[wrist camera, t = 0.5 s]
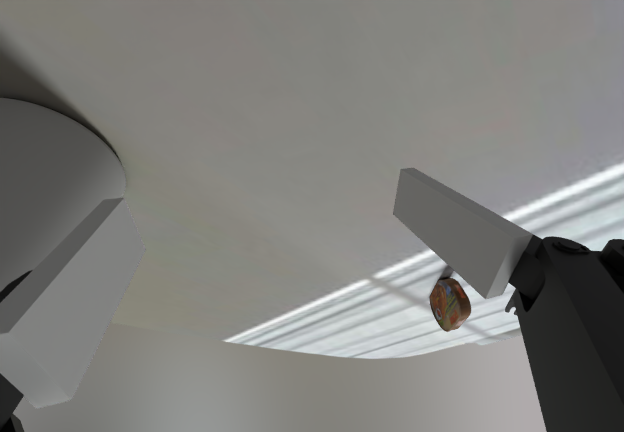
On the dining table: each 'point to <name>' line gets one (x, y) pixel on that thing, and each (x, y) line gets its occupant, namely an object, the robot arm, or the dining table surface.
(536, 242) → the robot arm
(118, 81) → the dining table surface
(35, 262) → the cylinder vase
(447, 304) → the tin
